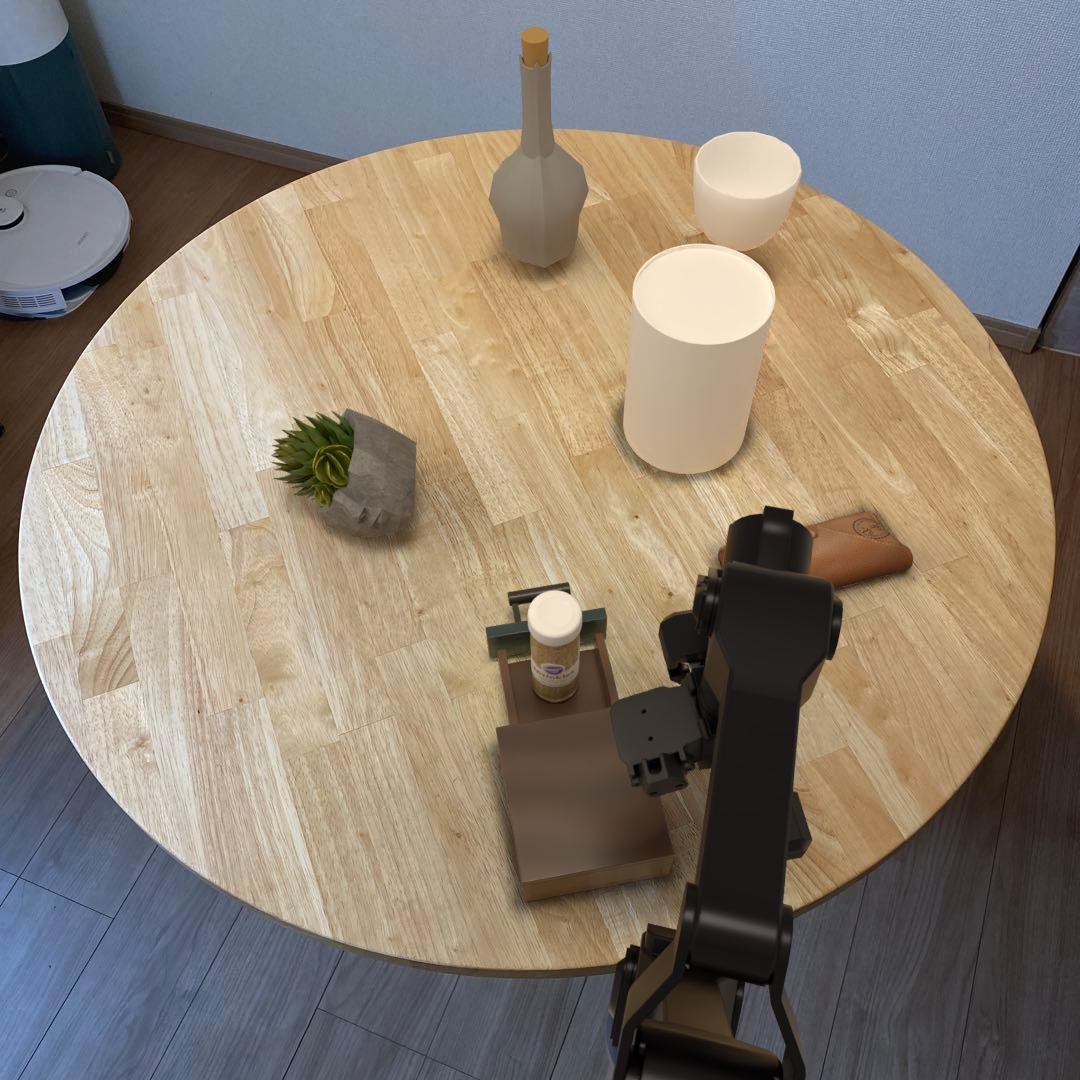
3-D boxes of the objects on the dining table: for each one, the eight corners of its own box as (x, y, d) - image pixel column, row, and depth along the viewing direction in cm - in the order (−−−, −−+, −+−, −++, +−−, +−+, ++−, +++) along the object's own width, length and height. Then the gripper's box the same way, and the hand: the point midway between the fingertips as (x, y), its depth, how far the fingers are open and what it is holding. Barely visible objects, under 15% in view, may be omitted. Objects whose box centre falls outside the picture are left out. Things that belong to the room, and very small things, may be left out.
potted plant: (402, 560, 104) (249, 528, 101) (404, 523, 116) (268, 494, 114) (428, 443, 101) (271, 408, 98) (428, 418, 113) (288, 386, 110)
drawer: (481, 611, 103) (478, 589, 100) (594, 592, 104) (595, 570, 101) (508, 769, 94) (506, 752, 91) (632, 747, 95) (634, 729, 92)
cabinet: (499, 753, 96) (495, 727, 91) (633, 729, 97) (636, 702, 92) (524, 902, 89) (521, 883, 84) (668, 874, 90) (674, 854, 85)
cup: (673, 307, 127) (687, 191, 112) (687, 242, 133) (702, 124, 118) (770, 321, 125) (797, 206, 111) (780, 255, 131) (806, 137, 117)
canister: (767, 413, 117) (800, 279, 101) (704, 494, 112) (728, 366, 95) (665, 362, 122) (680, 225, 105) (599, 436, 116) (605, 304, 99)
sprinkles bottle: (535, 708, 96) (532, 640, 85) (527, 664, 99) (523, 592, 88) (584, 699, 97) (587, 631, 86) (575, 656, 99) (576, 584, 88)
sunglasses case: (872, 505, 110) (902, 499, 103) (890, 570, 110) (921, 568, 103) (711, 548, 107) (731, 545, 101) (729, 615, 107) (751, 616, 100)
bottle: (506, 226, 135) (493, -1, 110) (592, 236, 134) (598, 9, 109) (486, 287, 129) (467, 61, 104) (576, 298, 128) (579, 73, 103)
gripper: (595, 585, 73) (590, 679, 86) (657, 851, 63) (641, 911, 76) (750, 559, 73) (722, 657, 87) (836, 818, 64) (789, 884, 77)
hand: (715, 770), depth 81 cm, fingers open, 9 cm apart
